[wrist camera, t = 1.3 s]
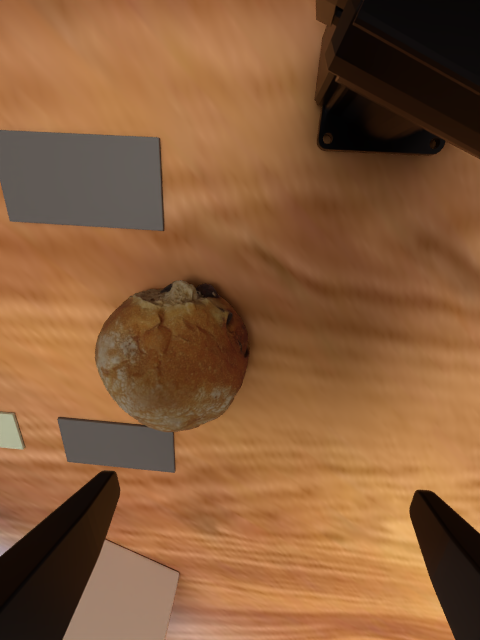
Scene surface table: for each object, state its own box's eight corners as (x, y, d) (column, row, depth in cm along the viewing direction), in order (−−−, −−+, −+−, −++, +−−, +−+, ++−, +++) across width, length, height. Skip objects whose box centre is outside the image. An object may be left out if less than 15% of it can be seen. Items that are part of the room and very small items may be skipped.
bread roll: (126, 315, 24) (52, 390, 19) (170, 234, 17) (73, 316, 12) (216, 380, 26) (173, 466, 21) (289, 331, 19) (254, 442, 14)
